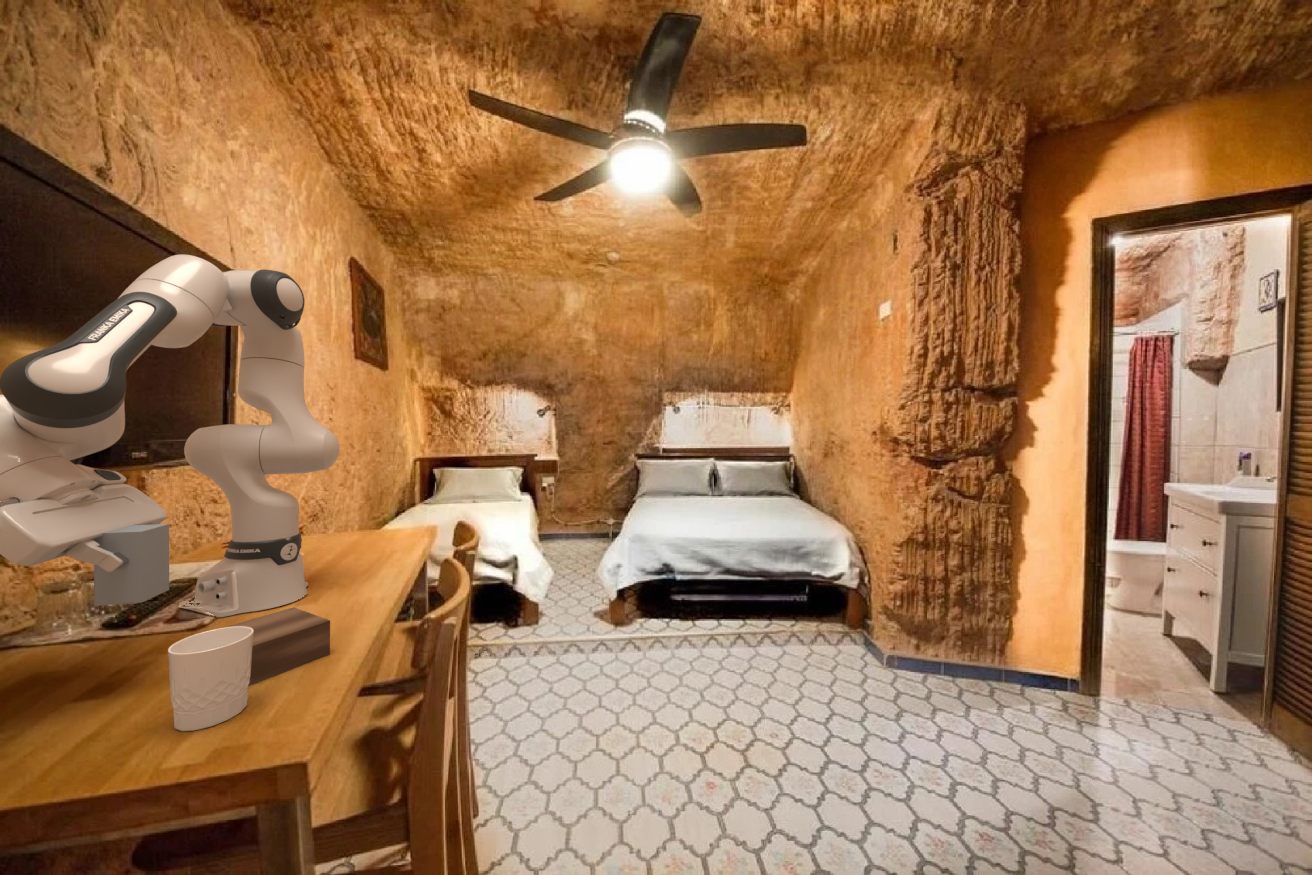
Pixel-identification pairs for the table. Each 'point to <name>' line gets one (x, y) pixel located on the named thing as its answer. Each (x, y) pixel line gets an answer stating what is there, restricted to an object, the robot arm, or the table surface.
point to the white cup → (210, 676)
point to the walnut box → (286, 642)
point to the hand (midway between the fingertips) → (139, 559)
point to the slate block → (134, 565)
